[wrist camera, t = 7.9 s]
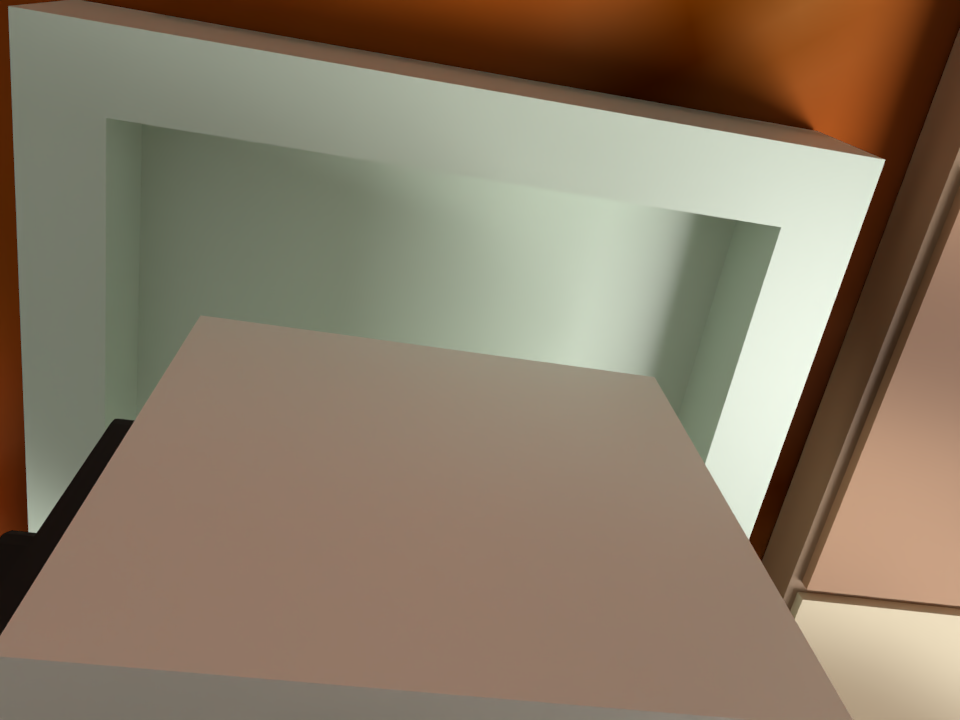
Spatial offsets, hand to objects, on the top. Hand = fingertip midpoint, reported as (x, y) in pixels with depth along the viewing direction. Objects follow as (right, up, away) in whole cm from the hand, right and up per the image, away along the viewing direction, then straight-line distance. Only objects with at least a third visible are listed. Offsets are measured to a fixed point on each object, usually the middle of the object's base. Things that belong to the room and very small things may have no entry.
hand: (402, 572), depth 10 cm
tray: (0, +2, +4) cm, 4 cm away
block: (0, 0, +1) cm, 1 cm away
